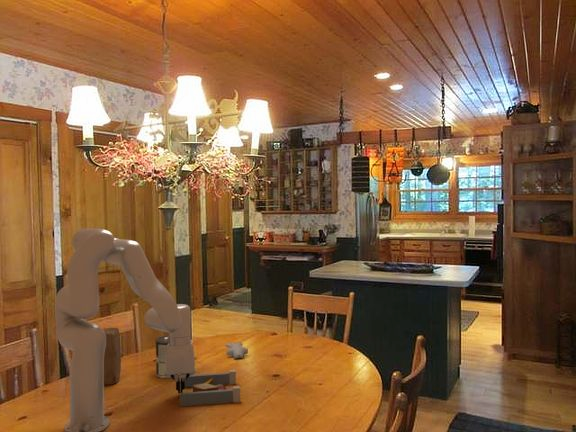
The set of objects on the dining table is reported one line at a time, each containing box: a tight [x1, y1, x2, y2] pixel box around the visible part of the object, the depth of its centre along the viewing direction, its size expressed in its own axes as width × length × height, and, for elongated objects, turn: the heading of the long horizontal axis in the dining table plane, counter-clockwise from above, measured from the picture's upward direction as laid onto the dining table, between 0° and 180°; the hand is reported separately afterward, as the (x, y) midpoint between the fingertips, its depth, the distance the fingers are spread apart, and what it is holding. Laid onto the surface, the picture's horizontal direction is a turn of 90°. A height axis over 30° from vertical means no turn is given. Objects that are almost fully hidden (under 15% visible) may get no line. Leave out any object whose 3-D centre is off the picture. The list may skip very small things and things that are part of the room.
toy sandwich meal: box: [191, 379, 228, 392], centre depth 176 cm, size 12×14×5 cm
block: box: [102, 327, 122, 386], centre depth 191 cm, size 11×8×20 cm
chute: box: [179, 369, 241, 407], centre depth 177 cm, size 19×20×5 cm
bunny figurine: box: [225, 341, 249, 359], centre depth 224 cm, size 10×5×15 cm
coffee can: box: [155, 335, 182, 379], centre depth 199 cm, size 10×10×14 cm
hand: (180, 391), depth 175 cm, fingers closed
